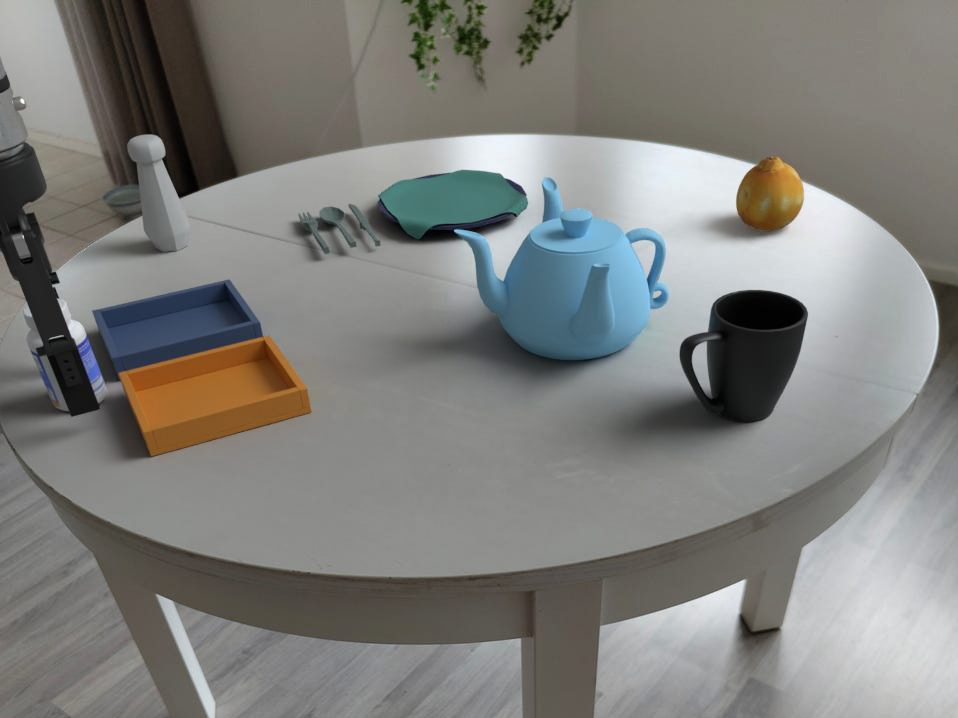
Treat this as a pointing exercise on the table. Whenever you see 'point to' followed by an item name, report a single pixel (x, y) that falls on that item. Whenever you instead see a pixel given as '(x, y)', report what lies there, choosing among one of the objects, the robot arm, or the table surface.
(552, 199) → the teapot
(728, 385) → the mug
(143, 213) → the salt shaker
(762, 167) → the fruit
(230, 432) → the tray amber
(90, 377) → the pill bottle
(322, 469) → the table surface
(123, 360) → the tray slate
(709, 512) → the table surface
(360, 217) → the cutlery set
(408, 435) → the table surface
